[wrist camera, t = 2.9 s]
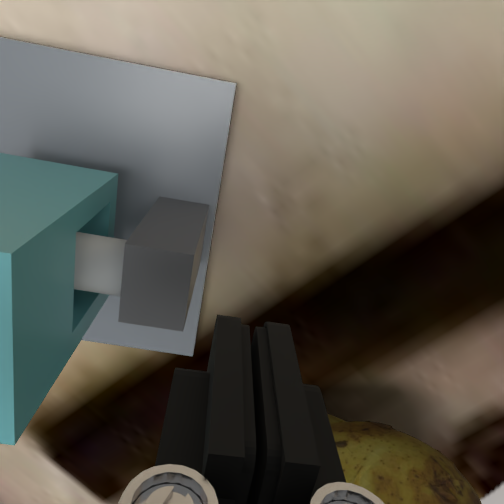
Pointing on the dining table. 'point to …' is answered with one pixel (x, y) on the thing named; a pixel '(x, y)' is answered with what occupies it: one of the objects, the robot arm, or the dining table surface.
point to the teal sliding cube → (44, 276)
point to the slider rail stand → (128, 178)
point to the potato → (398, 465)
